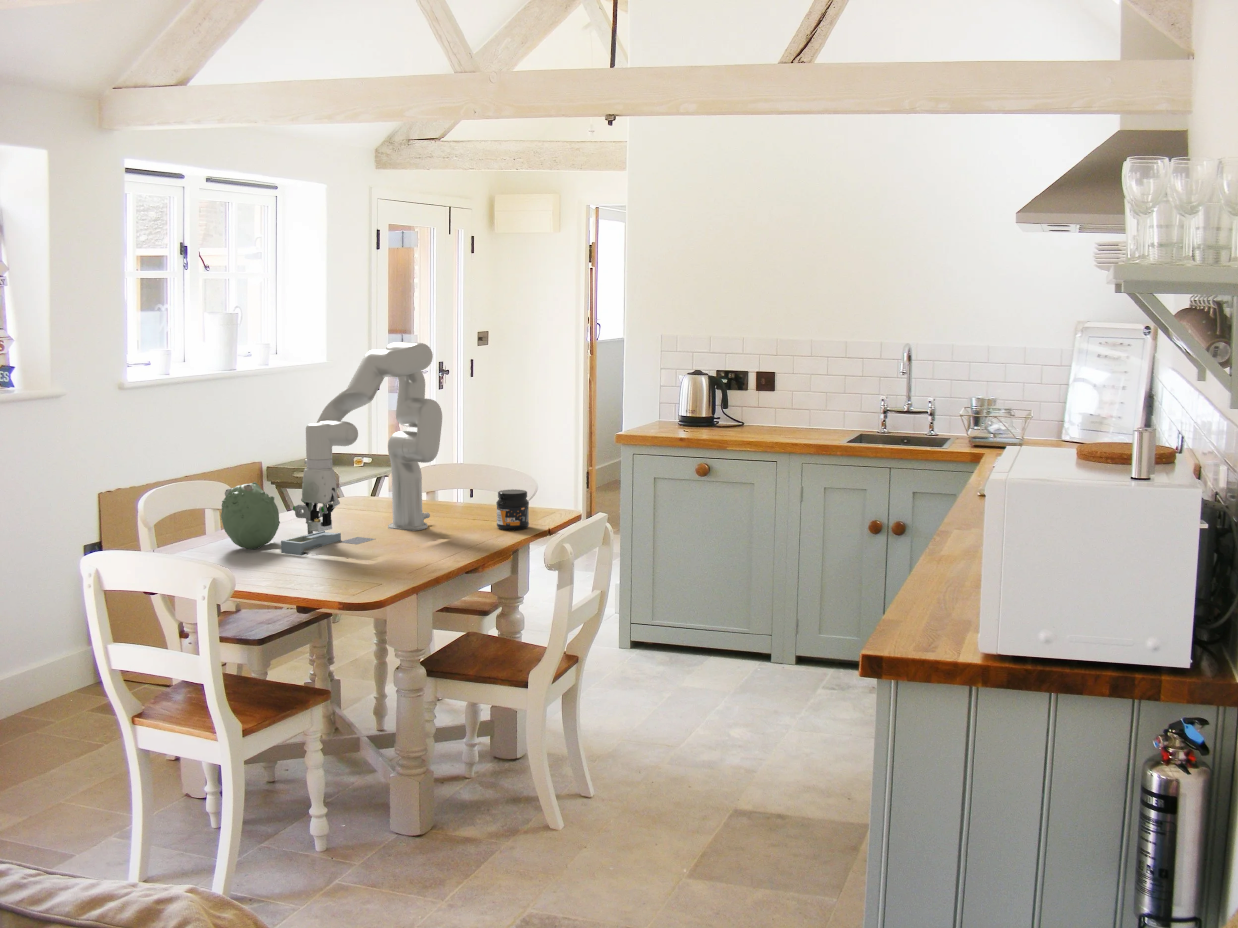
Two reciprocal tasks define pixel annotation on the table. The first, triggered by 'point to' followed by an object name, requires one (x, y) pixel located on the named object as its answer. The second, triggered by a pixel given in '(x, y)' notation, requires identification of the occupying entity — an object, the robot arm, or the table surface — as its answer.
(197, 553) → the table surface
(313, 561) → the table surface
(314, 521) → the grey small block
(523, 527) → the supplement container
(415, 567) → the table surface
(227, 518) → the green rounded lump
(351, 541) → the flat grey plate
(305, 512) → the mechanical component
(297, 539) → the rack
